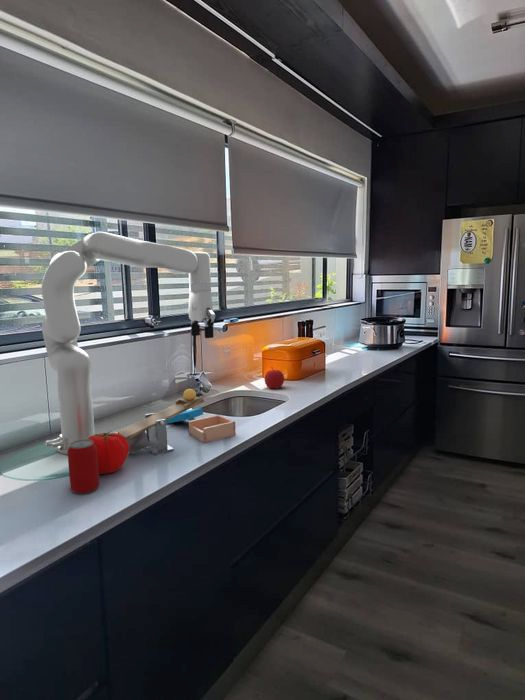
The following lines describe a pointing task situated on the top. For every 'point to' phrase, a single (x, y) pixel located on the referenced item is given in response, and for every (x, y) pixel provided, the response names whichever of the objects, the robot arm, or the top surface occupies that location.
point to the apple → (274, 379)
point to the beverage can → (83, 466)
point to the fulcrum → (158, 437)
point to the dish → (212, 428)
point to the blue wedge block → (186, 415)
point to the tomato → (110, 451)
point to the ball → (189, 395)
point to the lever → (154, 423)
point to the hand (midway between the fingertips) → (202, 336)
